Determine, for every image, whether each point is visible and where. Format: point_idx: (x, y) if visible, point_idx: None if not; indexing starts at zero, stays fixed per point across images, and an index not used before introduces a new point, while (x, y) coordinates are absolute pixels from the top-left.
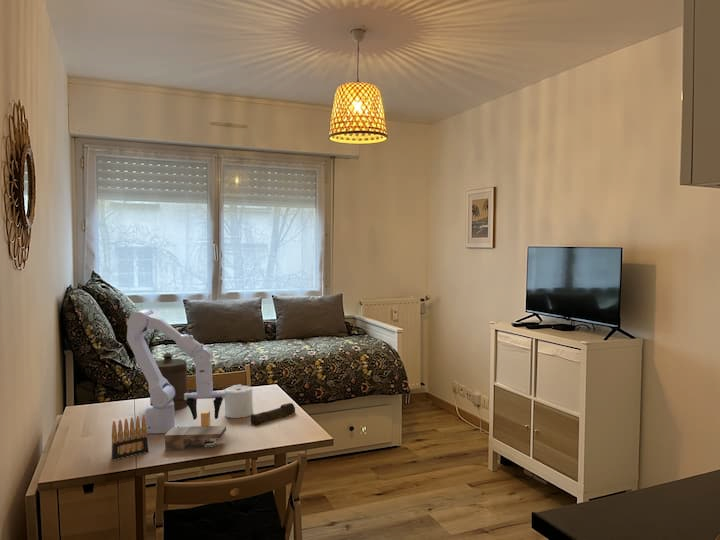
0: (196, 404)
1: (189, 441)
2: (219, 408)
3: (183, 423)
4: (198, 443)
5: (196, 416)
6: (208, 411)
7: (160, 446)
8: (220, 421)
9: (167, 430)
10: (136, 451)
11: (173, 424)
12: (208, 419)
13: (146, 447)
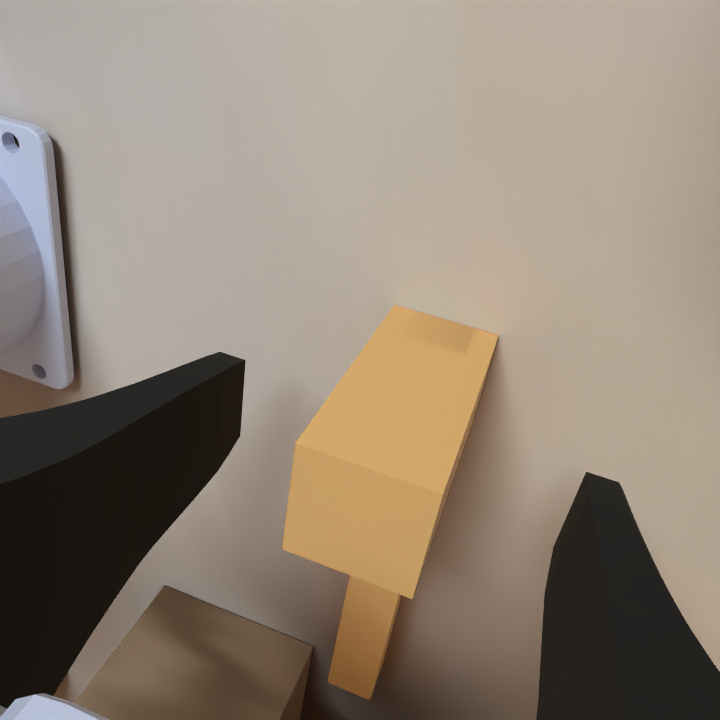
0: (83, 451)
1: (303, 684)
2: (670, 613)
3: (75, 3)
4: (387, 717)
5: (229, 390)
6: (415, 507)
7: (105, 627)
8: (705, 60)
9: (8, 351)
10: None
11: (2, 314)
12: (444, 504)
13: None
